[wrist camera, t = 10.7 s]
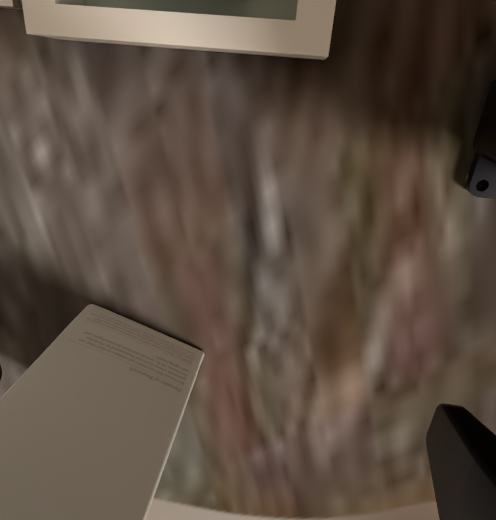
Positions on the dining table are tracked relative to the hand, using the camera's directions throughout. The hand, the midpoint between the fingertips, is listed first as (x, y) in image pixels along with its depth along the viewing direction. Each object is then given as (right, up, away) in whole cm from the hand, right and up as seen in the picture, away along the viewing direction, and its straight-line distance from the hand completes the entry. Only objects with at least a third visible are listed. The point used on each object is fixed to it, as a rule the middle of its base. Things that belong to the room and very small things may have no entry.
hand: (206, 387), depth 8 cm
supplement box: (-6, -4, +16) cm, 18 cm away
